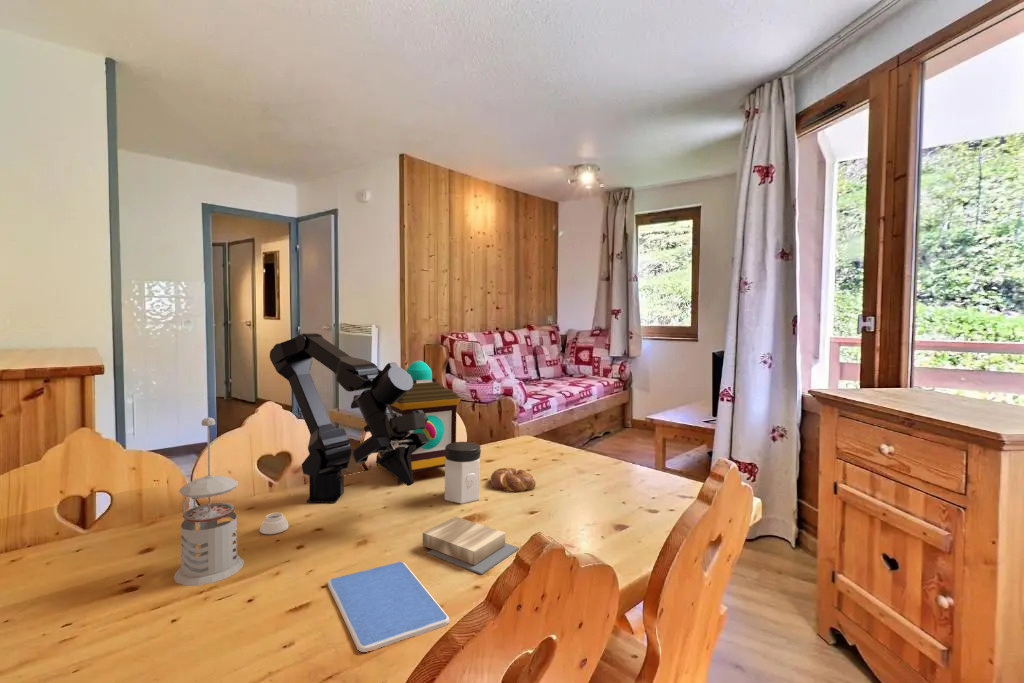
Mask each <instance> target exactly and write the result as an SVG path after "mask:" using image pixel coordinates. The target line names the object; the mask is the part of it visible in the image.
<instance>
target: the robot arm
mask: <svg viewBox="0 0 1024 683" xmlns="http://www.w3.org/2000/svg"><path fill="white" fill-rule="evenodd" d="M312 358H313V359H315V360H316V361H317V362H319V363H320V364H322V366H325V368H327V369H329V370H330V371H332V372H333V374H335V380H336V382H337V383H338V384H339V385H340V387H342V388H343V389H344V390H345V391H347V392H357V391H362V392H361V393H360V394H356V395H353V399H352V401H351V403H350V404H351V405H350V409H352V410H353V409H359V411H360V412H361V415H362V417H363V419H364V421H365V423H366V425H365V426H364V427H363V430H364V433H370V435H371V436H370V437H368V438H367V439H365V440H364V441H362V442H361V443H359V444H358V445H356V446H355V447H354V448H353V452H352V446H351V443H352V442H351V441H350V439H349V438H348V436H347V432H346V429H345V428H344V427H338V428H337V427H336V426H334V425H333V423H332V422H331V419H330V417H329V414H328V412H327V410H326V407H325V405H324V402H323V399H322V398H321V396H320V393H319V391H318V389H317V386H316V383H315V381H314V379H313V377H312V374H311V368H312V364H313V359H312ZM269 359H270V362H271V363H272V365H273V368H274V370H276V371H275V372H276V373H278V374H279V375H280V376H282V377H283V378H284V379H285V380H287V381H288V382H289V386H290V388H291V390H292V393H293V394H294V398H295V400H296V402H297V405H298V407H299V410H300V412H301V415H302V417H303V419H304V420H303V421H304V422H305V425H306V427H307V429H308V432H309V436H310V437H309V440H308V445H307V450H308V455H307V457H306V458H305V459H304V461H303V462H302V463H301V468H302V469H301V470H302V474H304V475H307V476H309V478H308V479H309V480H308V482H309V483H308V484H309V486H308V487H309V494H308V495H309V497H307V499H306V503H337V501H339V499H340V498H341V497H342V495H343V494H344V493H345V488H344V487H345V486H344V485H345V483H344V482H345V477H344V475H342V470H344V469H347V468H349V463H350V459H351V455H352V456H353V459H354V461H355V464H362V463H366V462H367V461H368V459H369V456H370V455H372V454H376V453H377V454H378V453H379V452H380V455H379V456H380V459H379V460H377V461H376V460H375V464H376V465H377V464H380V465H381V466H382V467H383V468H384V469H385V470H387V471H388V472H389V473H391V474H392V475H393V476H395V477H396V478H397V480H398V479H400V480H401V481H402V482H403V484H404V485H406V486H408V487H409V486H412V485H413V484H414V475H413V474H414V472H412V464H411V455H412V453H413V452H415V451H416V450H418V449H419V448H421V447H422V446H424V445H425V444H427V443H428V442H429V441H428V438H427V436H426V434H424V433H412V434H410V432H409V431H412V430H416V429H425V428H426V423H427V421H428V417H426V414H425V413H424V412H423V411H422V410H417V411H412V414H407V415H402V416H400V414H398V413H393V411H392V409H391V407H390V405H391V404H394V403H395V402H396V401H398V400H399V399H400V398H401V397H402V396H403V395H404V394H405V393H406V392H408V391H409V390H410V389H411V388H412V386H413V379H412V377H411V375H410V374H408V373H407V372H406V370H405V369H403V368H402V367H400V366H399V365H398V364H397V362H388V363H387V364H386V365H385V366H384V367H383V369H382V370H381V369H379V368H378V366H377V364H375V363H373V362H371V361H369V360H366V359H363V358H358V357H353V356H351V355H349V354H348V353H346V352H345V351H343V350H341V349H340V348H339V347H337V346H336V345H334V344H333V343H331V342H329V340H327V339H326V338H324V337H323V335H322V334H320V333H316V332H314V333H313V332H312V333H308V332H307V333H306V332H305V333H300V334H298V335H297V336H295V337H294V338H291V339H288V340H285V341H282V342H279V343H275V344H274V345H273V347H272V348H271V349H270V352H269ZM389 404H390V405H389ZM409 434H410V435H409ZM407 435H409V436H407ZM405 436H407V437H406V438H403V437H405Z"/></svg>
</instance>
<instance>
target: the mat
mask: <svg viewBox="0 0 1024 683" xmlns="http://www.w3.org/2000/svg"><path fill="white" fill-rule="evenodd" d="M518 549H520V547H518V546H515V545H513V544H510V543H508V542H507V543H506V542H505V546H503V547H502V548H500V549H499V550H497V551H496V552H494V553H493V554H491V555H489V556H488V557H486V558H485V559H483V560H482V561H480V562H479V563H477V564H476V565H472V564H469V563H467V562H464V561H461V560H459V559H456V558H454V557H451V556H449V555H446V554H443V553H441V552H438V551H436V550H433V549H430V550H429V551H428V552H427V553H428V555H430V556H433V557H436V558H438V559H441V560H443V561H446V562H449V563H451V564H453V565H456V566H459V567H461V568H464V569H466V570H468V571H471V572H474V573H475V574H478V575H484V574H485V573H487V572H489V571H490V570H491V569H492V568H494V567H496V566H497V565H498V564H500V563H501V562H502V561H504V560H505V559H507V558H508V557H510V556H512V555H513V554H514V553H516V552H517V551H518Z"/></svg>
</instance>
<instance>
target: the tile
mask: <svg viewBox="0 0 1024 683" xmlns="http://www.w3.org/2000/svg"><path fill="white" fill-rule="evenodd" d="M506 533H507V532H504V531H502V530H499V529H496V528H492V527H489V526H486V525H483V524H480V523H476V522H473V521H471V520H469V519H464V518H461V517H458V516H453V517H452V518H450V519H447V520H445V521H443V522H442V523H439V524H437V525H436V526H434V527H431V528H429V529H427V530H425V531H424V532H422V546H424V547H425V548H429V549H430V550H436V551H438V552H441V553H443V554H446V555H449V556H451V557H454V558H456V559H459V560H461V561H464V562H467V563H469V564H472V565H476V564H477V563H479V562H480V561H482V560H483V559H485V558H486V557H488V556H489V555H491V554H493V553H494V552H496V551H497V550H499V549H500V548H502V547H503V546H505V543H506V535H507V534H506Z"/></svg>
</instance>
